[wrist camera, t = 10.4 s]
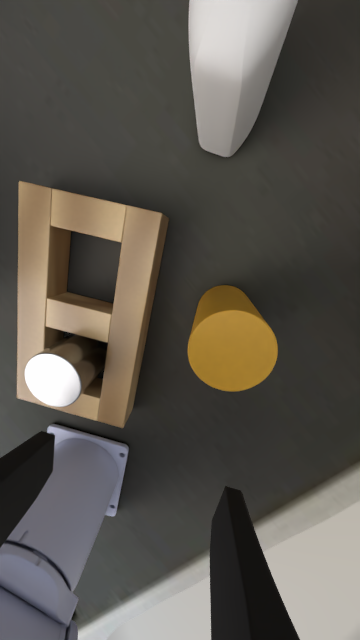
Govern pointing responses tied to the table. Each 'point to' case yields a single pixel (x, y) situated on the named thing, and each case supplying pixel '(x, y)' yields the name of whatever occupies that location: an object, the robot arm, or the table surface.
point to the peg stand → (79, 311)
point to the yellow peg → (230, 341)
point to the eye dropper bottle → (233, 65)
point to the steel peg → (65, 369)
